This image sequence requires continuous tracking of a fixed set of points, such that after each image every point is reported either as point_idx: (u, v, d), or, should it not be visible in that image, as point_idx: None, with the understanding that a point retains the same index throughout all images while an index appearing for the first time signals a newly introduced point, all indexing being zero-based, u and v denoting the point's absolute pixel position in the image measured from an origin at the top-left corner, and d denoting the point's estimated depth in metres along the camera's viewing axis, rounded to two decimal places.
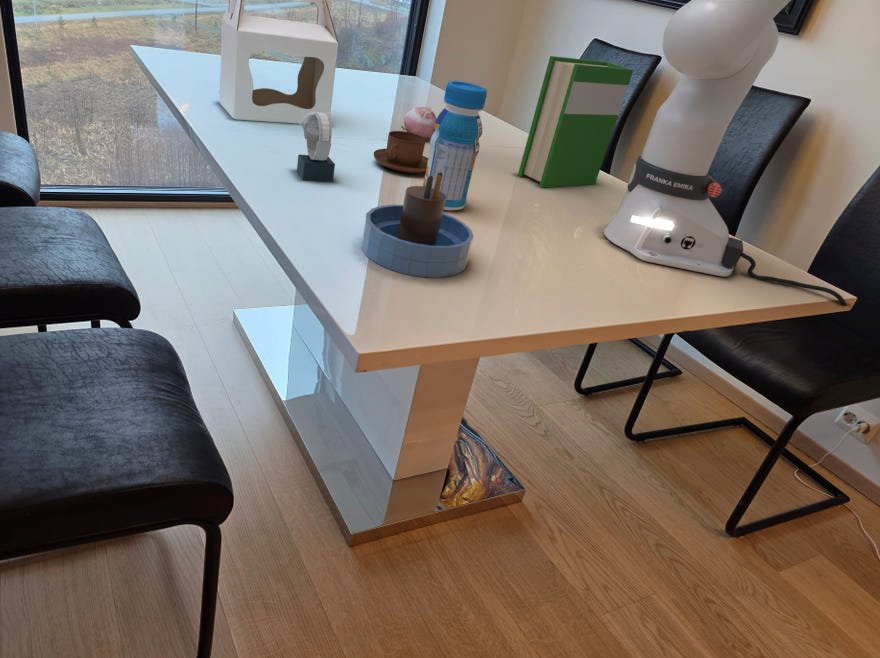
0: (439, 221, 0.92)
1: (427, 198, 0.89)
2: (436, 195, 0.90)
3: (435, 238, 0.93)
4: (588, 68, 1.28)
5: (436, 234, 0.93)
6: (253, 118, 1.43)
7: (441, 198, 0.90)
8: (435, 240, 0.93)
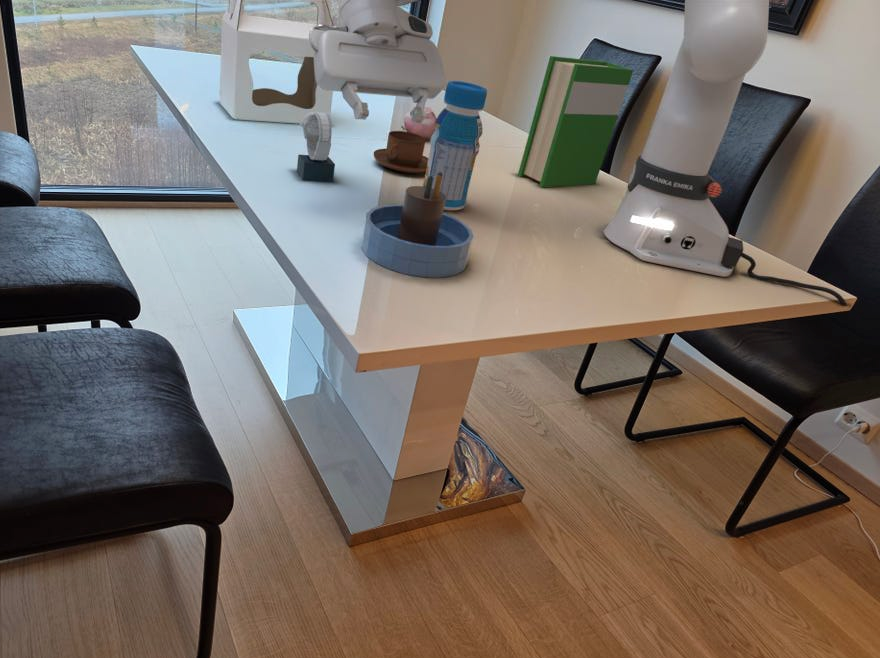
0: (439, 221, 0.92)
1: (427, 198, 0.89)
2: (436, 195, 0.90)
3: (435, 238, 0.93)
4: (588, 68, 1.28)
5: (436, 234, 0.93)
6: (253, 118, 1.43)
7: (441, 198, 0.90)
8: (435, 240, 0.93)
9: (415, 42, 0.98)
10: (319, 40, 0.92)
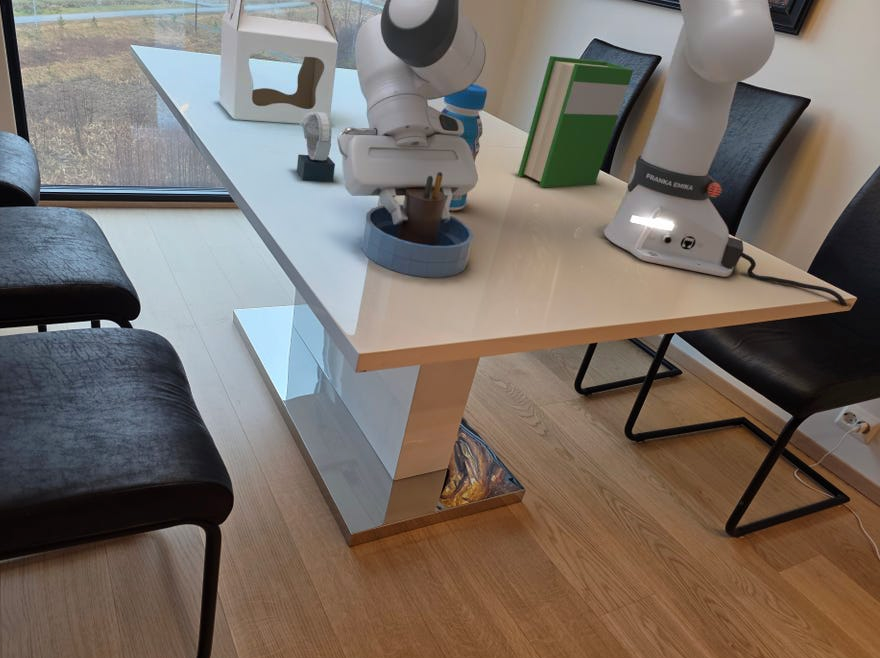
0: (439, 221, 0.92)
1: (427, 198, 0.89)
2: (436, 195, 0.90)
3: (435, 238, 0.93)
4: (588, 68, 1.28)
5: (436, 234, 0.93)
6: (253, 118, 1.43)
7: (441, 198, 0.90)
8: (435, 240, 0.93)
9: (446, 141, 0.94)
10: (348, 146, 0.89)
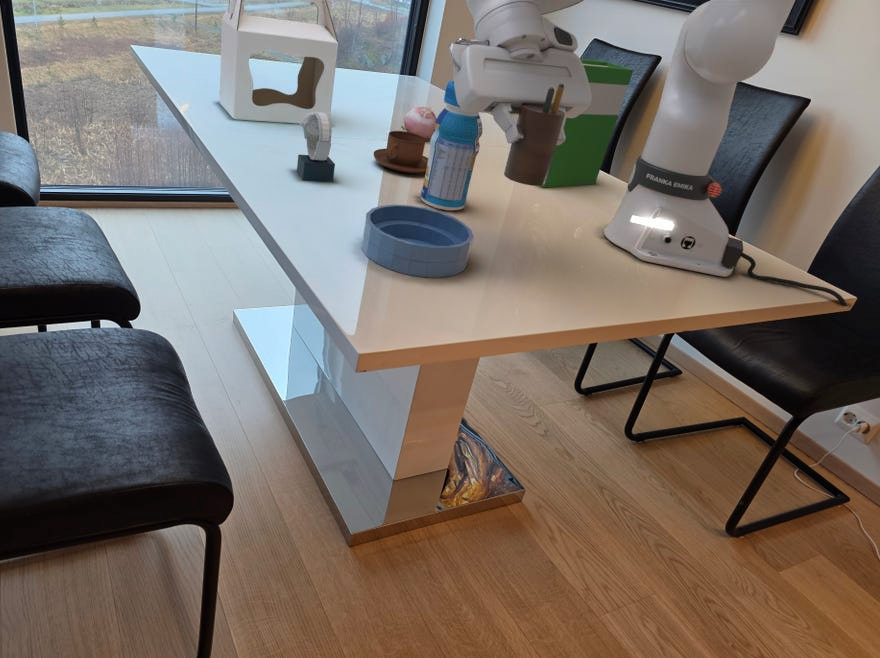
0: (556, 140, 0.85)
1: (547, 112, 0.82)
2: (555, 110, 0.83)
3: (550, 159, 0.86)
4: (588, 68, 1.28)
5: (552, 155, 0.86)
6: (253, 118, 1.43)
7: (560, 113, 0.83)
8: (550, 162, 0.86)
9: (560, 56, 0.87)
10: (462, 56, 0.82)
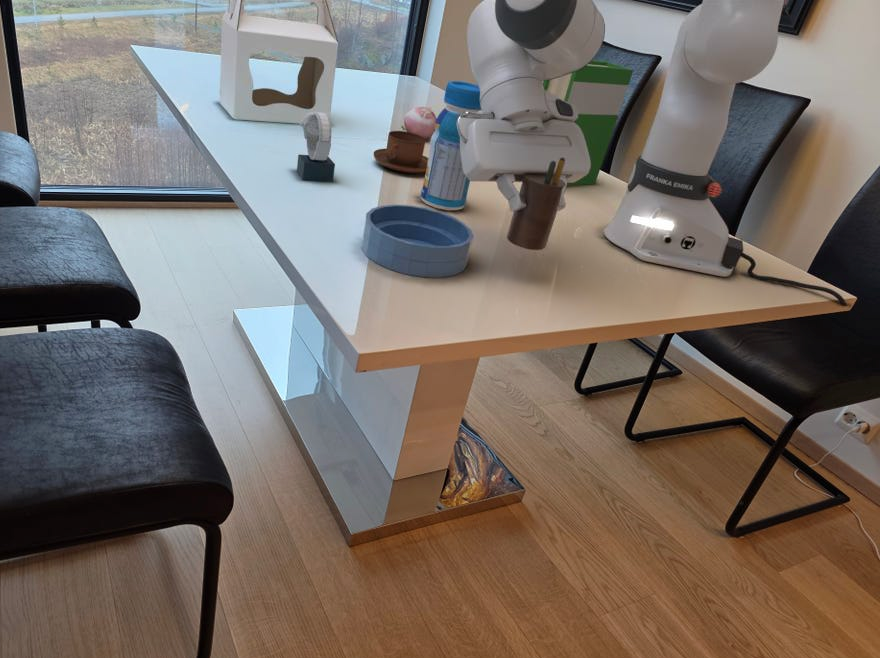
0: (557, 208, 0.89)
1: (549, 184, 0.87)
2: (557, 181, 0.87)
3: (551, 226, 0.90)
4: (588, 68, 1.28)
5: (553, 221, 0.90)
6: (253, 118, 1.43)
7: (561, 184, 0.88)
8: (551, 228, 0.91)
9: (562, 126, 0.92)
10: (469, 129, 0.86)
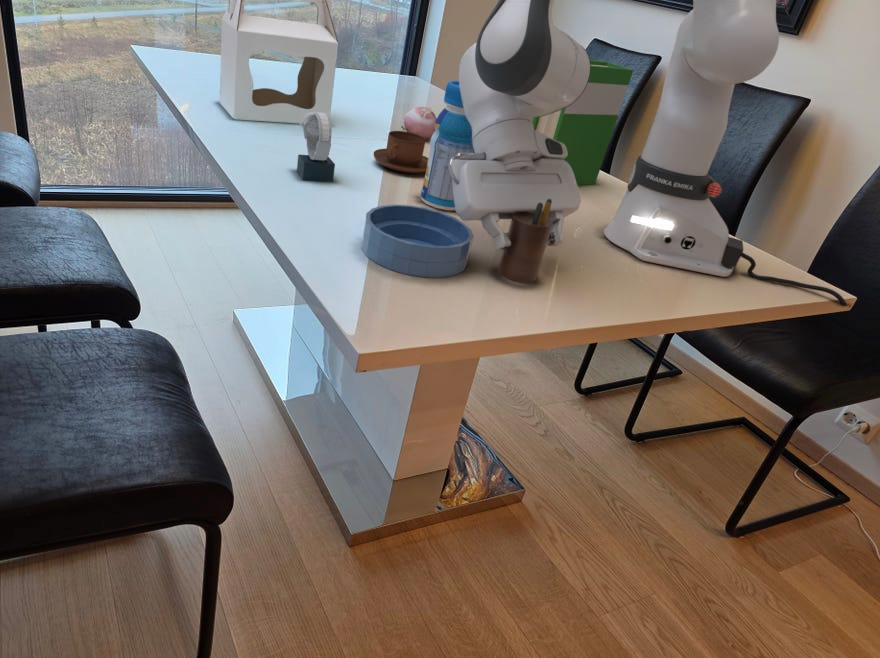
0: (545, 246, 0.92)
1: (536, 224, 0.90)
2: (544, 221, 0.90)
3: (539, 263, 0.93)
4: None
5: (541, 259, 0.93)
6: (253, 118, 1.43)
7: (548, 224, 0.91)
8: (539, 265, 0.94)
9: (552, 165, 0.95)
10: (461, 171, 0.89)
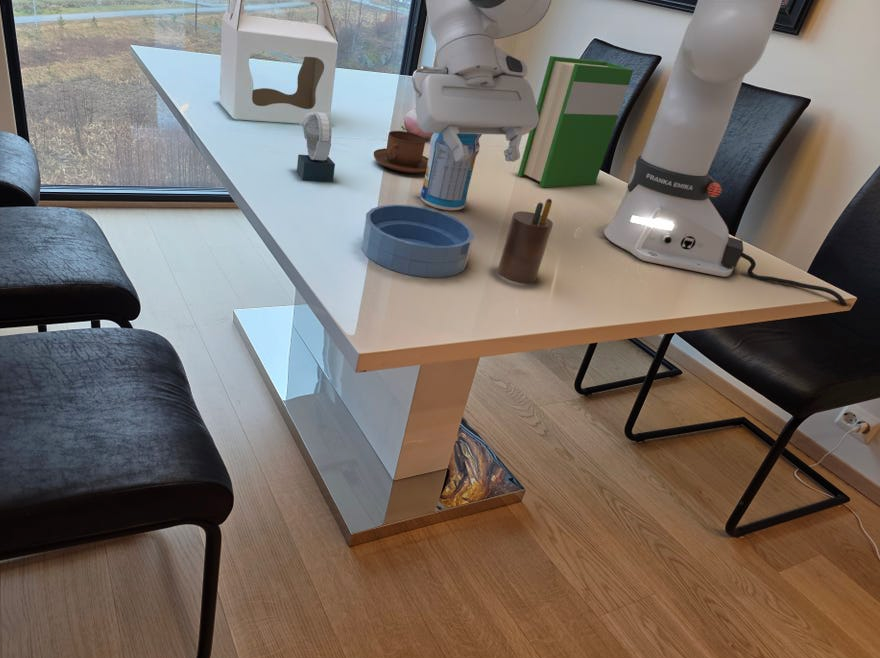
0: (545, 246, 0.92)
1: (536, 224, 0.90)
2: (544, 221, 0.90)
3: (539, 263, 0.93)
4: (588, 68, 1.28)
5: (541, 259, 0.93)
6: (253, 118, 1.43)
7: (548, 224, 0.91)
8: (539, 265, 0.94)
9: (511, 82, 0.99)
10: (423, 84, 0.93)
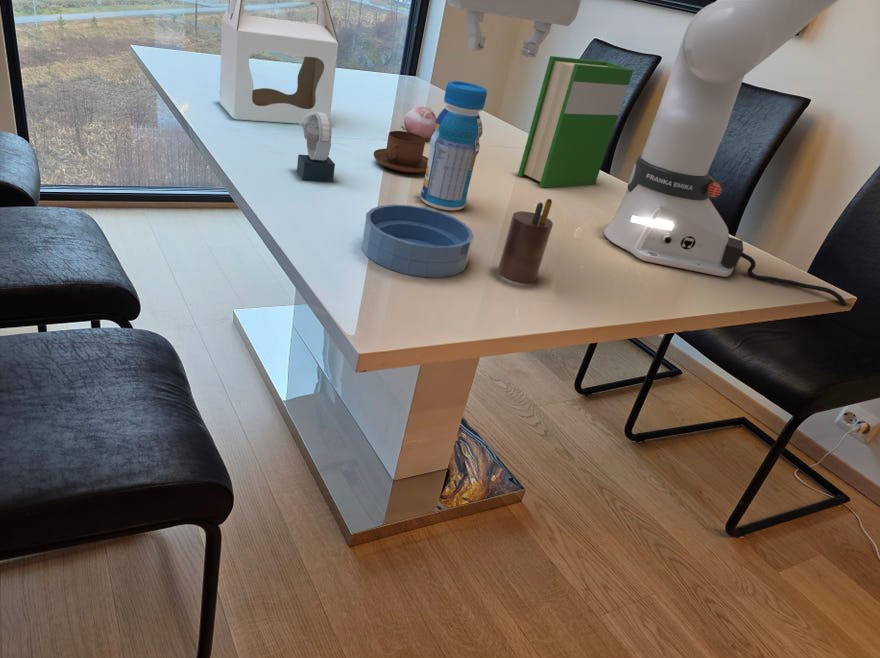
0: (545, 246, 0.92)
1: (536, 224, 0.90)
2: (544, 221, 0.90)
3: (539, 263, 0.93)
4: (588, 68, 1.28)
5: (541, 259, 0.93)
6: (253, 118, 1.43)
7: (548, 224, 0.91)
8: (539, 265, 0.94)
9: None
10: None
